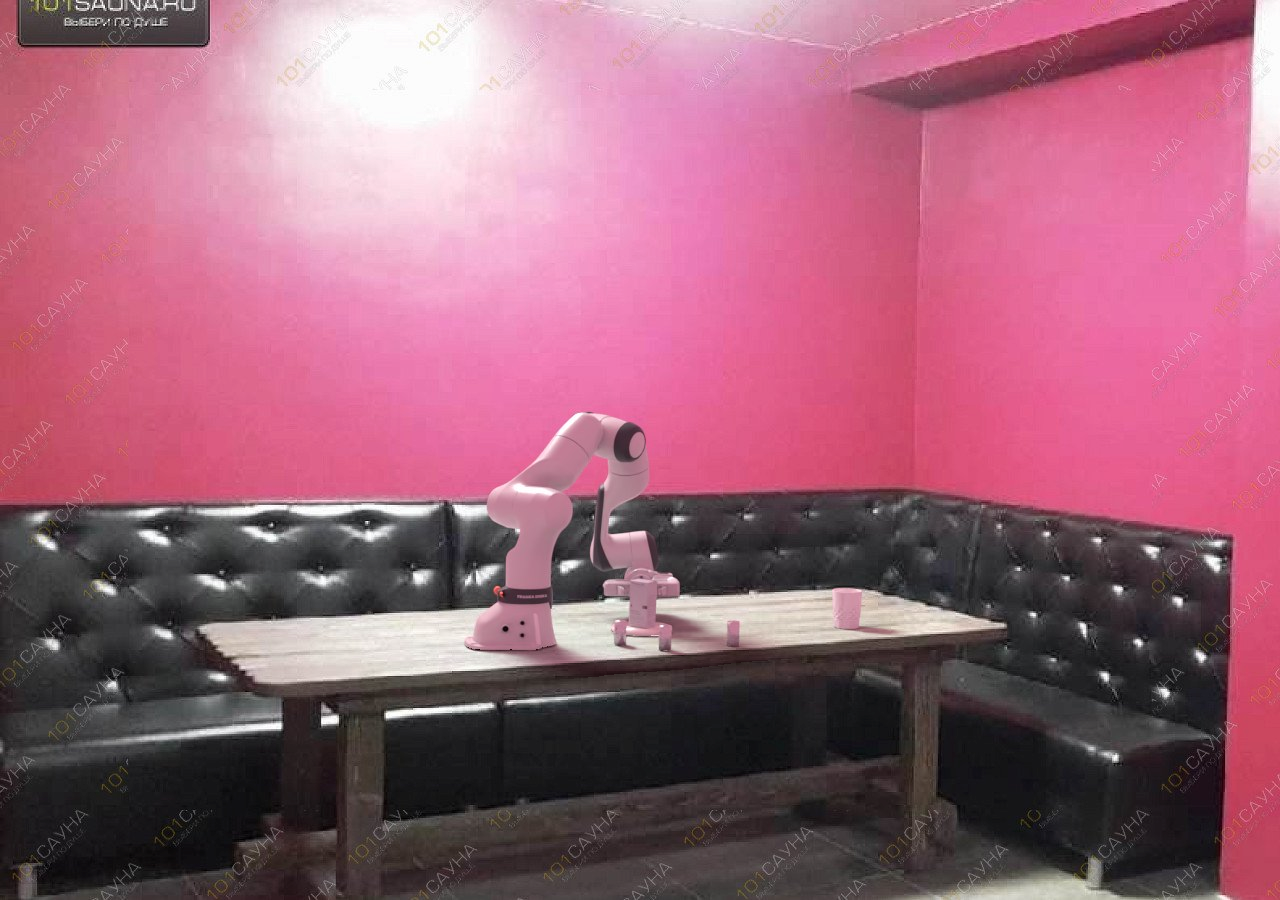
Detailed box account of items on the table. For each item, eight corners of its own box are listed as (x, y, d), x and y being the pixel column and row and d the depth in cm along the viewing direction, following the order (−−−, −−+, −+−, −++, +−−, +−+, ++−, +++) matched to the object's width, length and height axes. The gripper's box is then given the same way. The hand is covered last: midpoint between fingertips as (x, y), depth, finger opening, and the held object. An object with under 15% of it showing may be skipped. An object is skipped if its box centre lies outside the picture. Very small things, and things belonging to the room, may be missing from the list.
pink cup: (840, 630, 363) (841, 593, 362) (826, 625, 370) (826, 588, 370) (866, 629, 366) (867, 591, 365) (851, 624, 373) (852, 587, 373)
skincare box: (627, 626, 358) (628, 580, 357) (638, 623, 361) (638, 578, 361) (646, 629, 354) (647, 582, 353) (657, 626, 358) (657, 580, 357)
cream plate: (618, 637, 348) (618, 632, 348) (604, 626, 363) (604, 622, 363) (679, 635, 352) (679, 631, 352) (663, 624, 367) (663, 620, 367)
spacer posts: (623, 652, 329) (623, 627, 328) (612, 643, 340) (613, 619, 339) (744, 648, 336) (744, 624, 336) (729, 640, 347) (730, 616, 347)
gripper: (602, 572, 372) (602, 580, 358) (678, 573, 373) (681, 580, 359) (602, 595, 372) (602, 604, 358) (677, 596, 373) (680, 604, 359)
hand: (642, 592), depth 359 cm, fingers open, 8 cm apart
